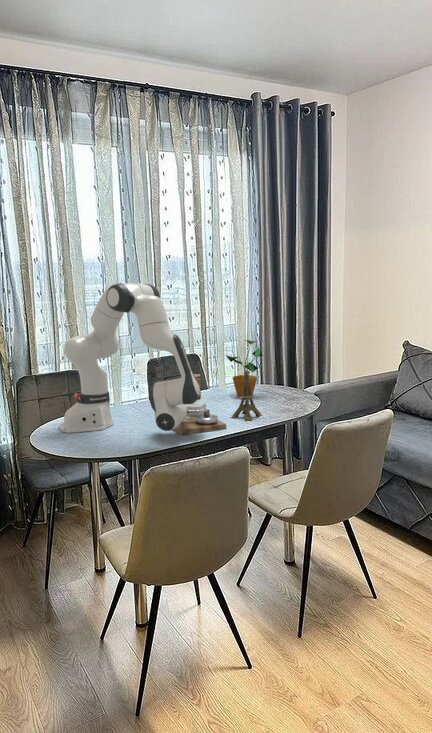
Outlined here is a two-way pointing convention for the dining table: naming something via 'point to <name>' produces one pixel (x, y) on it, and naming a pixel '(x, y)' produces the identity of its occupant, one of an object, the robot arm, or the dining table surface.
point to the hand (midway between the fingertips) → (184, 402)
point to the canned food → (198, 383)
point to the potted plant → (240, 379)
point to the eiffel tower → (246, 401)
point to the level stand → (197, 426)
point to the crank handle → (205, 418)
